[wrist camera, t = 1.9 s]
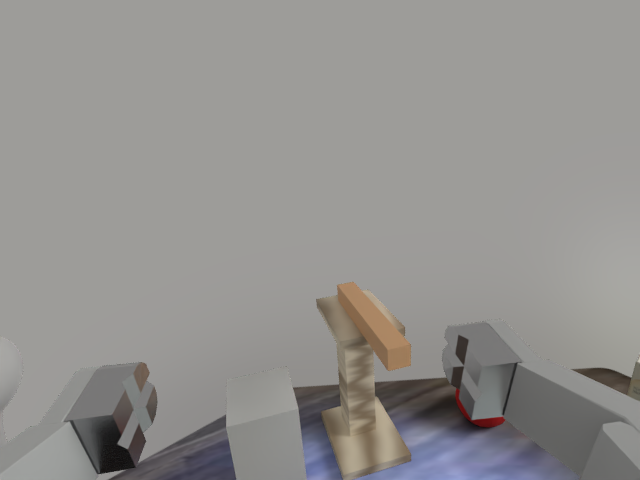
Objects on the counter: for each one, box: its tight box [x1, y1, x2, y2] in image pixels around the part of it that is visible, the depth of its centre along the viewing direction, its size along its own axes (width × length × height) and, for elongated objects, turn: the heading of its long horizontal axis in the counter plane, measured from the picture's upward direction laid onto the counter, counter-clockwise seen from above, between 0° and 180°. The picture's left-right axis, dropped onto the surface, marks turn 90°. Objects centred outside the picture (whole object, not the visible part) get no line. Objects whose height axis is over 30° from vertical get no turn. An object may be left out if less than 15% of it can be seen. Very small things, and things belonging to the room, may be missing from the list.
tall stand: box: [316, 290, 411, 480], centre depth 59 cm, size 12×14×26 cm
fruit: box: [456, 388, 505, 427], centre depth 64 cm, size 9×9×10 cm
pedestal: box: [226, 366, 307, 480], centre depth 54 cm, size 10×10×17 cm
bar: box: [337, 282, 411, 371], centre depth 50 cm, size 3×20×3 cm, turn 15°
